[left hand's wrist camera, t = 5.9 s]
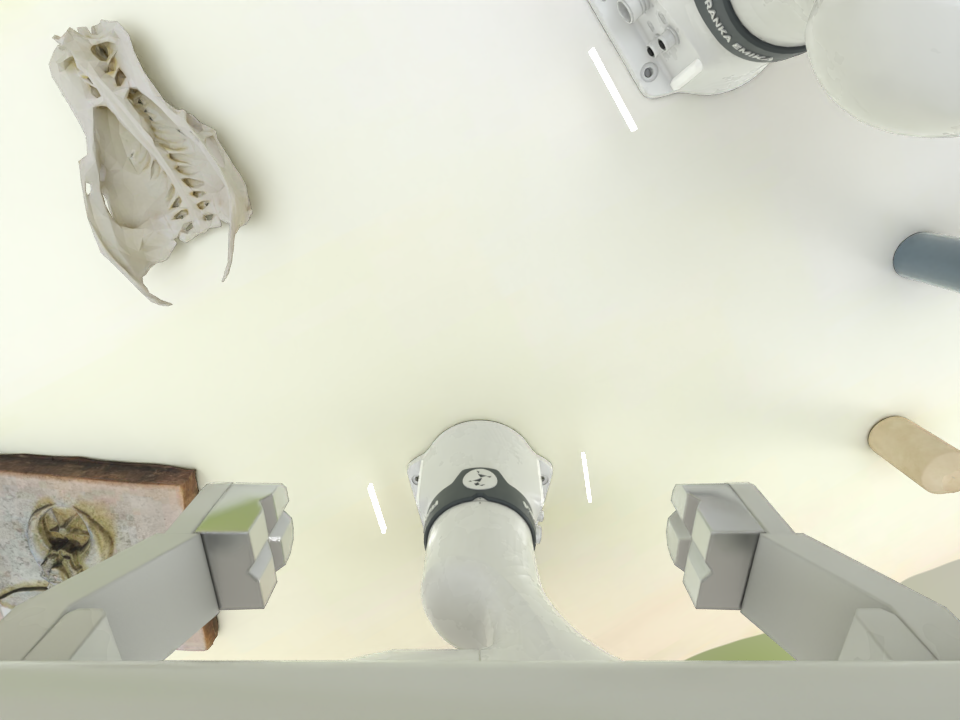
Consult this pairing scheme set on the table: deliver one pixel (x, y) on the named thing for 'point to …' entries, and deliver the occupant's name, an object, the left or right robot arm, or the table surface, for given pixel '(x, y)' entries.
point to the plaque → (82, 520)
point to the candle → (917, 454)
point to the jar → (930, 260)
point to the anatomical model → (142, 156)
